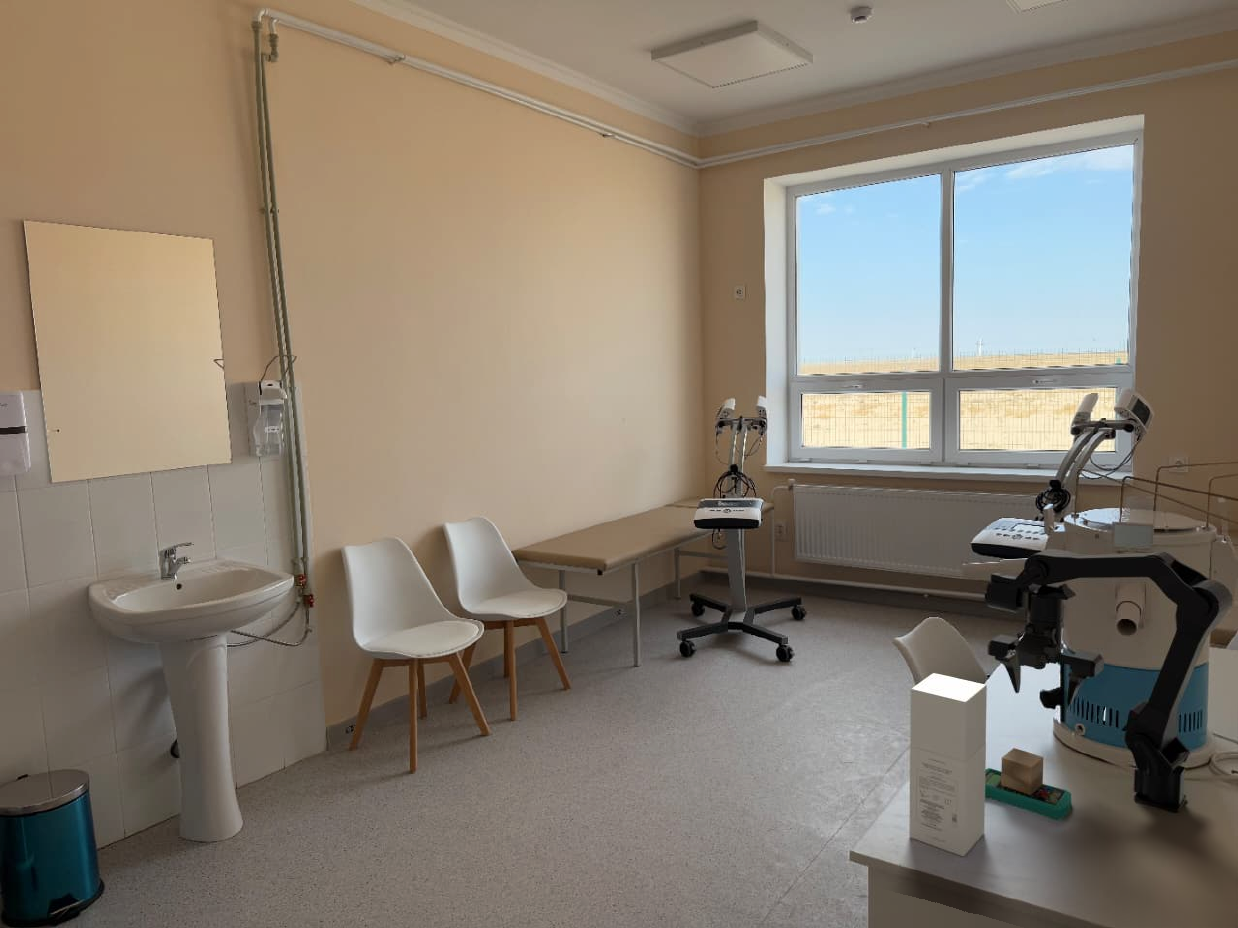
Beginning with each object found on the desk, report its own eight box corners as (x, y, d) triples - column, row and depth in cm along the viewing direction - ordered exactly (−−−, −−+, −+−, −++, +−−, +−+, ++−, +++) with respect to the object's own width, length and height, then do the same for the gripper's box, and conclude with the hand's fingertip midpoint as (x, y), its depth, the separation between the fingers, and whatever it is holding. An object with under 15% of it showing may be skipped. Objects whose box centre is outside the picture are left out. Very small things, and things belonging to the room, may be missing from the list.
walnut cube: (1042, 784, 149) (1043, 756, 148) (1030, 794, 145) (1031, 766, 145) (1013, 774, 152) (1013, 747, 152) (1001, 784, 149) (1001, 757, 148)
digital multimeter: (1062, 824, 141) (1063, 807, 141) (970, 795, 151) (971, 780, 151) (1075, 806, 147) (1075, 790, 146) (985, 779, 157) (985, 764, 156)
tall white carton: (984, 833, 139) (987, 684, 136) (963, 857, 132) (966, 702, 129) (931, 814, 145) (932, 672, 142) (908, 837, 138) (909, 688, 135)
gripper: (976, 618, 160) (974, 699, 162) (1085, 639, 147) (1082, 726, 148) (1000, 605, 167) (998, 682, 169) (1105, 623, 154) (1103, 706, 156)
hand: (1042, 698), depth 161 cm, fingers open, 9 cm apart
